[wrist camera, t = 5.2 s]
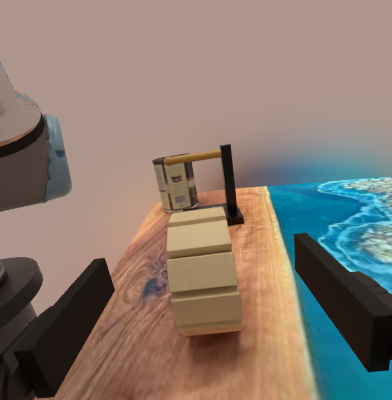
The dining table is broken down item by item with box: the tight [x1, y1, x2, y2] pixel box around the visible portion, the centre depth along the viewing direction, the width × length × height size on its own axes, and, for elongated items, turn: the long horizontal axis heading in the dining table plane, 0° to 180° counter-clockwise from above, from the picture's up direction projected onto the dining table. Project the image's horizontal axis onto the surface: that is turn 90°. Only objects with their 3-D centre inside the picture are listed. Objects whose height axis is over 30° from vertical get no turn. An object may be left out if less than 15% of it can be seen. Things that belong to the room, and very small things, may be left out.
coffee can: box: [153, 154, 199, 213], centre depth 57 cm, size 10×10×14 cm
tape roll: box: [167, 206, 243, 336], centre depth 20 cm, size 5×11×11 cm, turn 179°
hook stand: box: [164, 144, 244, 225], centre depth 45 cm, size 14×10×16 cm
